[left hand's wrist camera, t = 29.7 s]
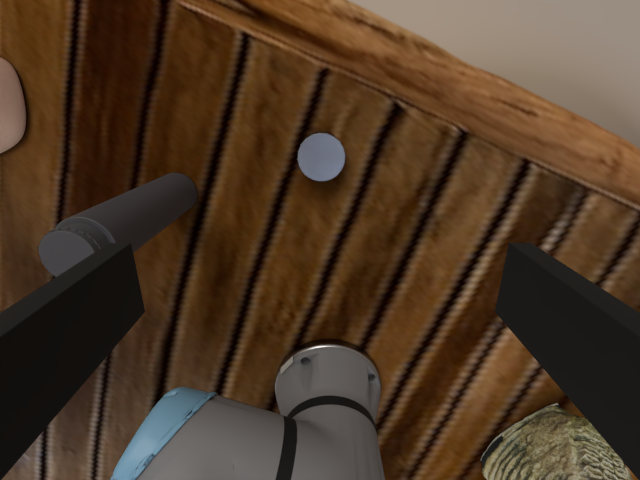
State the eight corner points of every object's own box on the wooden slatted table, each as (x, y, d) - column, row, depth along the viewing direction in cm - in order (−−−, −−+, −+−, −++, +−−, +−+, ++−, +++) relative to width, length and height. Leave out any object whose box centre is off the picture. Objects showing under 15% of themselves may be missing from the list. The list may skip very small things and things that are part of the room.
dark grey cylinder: (199, 178, 42) (104, 234, 23) (194, 214, 43) (102, 294, 25) (159, 168, 41) (31, 217, 23) (156, 205, 43) (33, 280, 24)
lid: (297, 176, 42) (295, 180, 40) (299, 129, 40) (298, 130, 38) (341, 180, 42) (343, 183, 40) (346, 133, 40) (348, 134, 38)
